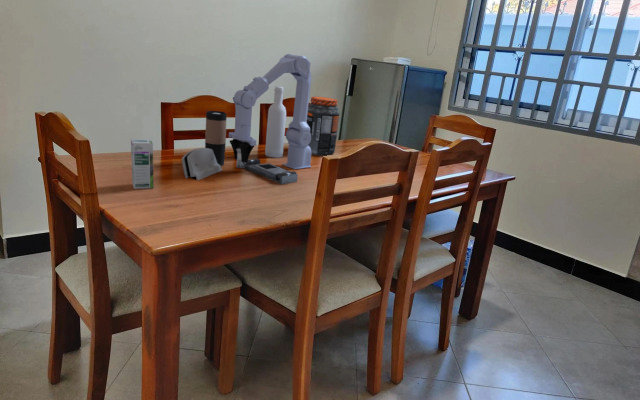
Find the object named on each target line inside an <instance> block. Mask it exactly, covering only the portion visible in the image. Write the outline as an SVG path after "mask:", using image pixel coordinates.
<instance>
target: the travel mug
mask: <svg viewBox="0 0 640 400" xmlns="http://www.w3.org/2000/svg"><path fill="white" fill-rule="evenodd" d="M227 115H228V114H227V113H226V112H224V111H219V110H207V111H206V112H205V117H206V118H205V134H204V135H205V136H204V137H205V138H204V139H205V140H204V148H208V149H212V150H213V152H214V155H215V158H216V161H217V163H218V164H219V165H220V166H221V167H222V166H224V164H225V157H226V156H225V155H226V154H225V153H226V145H227V144H226V140H227V139H226V138H227Z"/></svg>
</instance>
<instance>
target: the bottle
mask: <svg viewBox="0 0 640 400" xmlns="http://www.w3.org/2000/svg"><path fill="white" fill-rule="evenodd" d="M273 91H274V94H273V95H274V97H273V98H274V99H273V103H272V104H271V105H270V106H269V108H268V111H267V112H268V113H267V123H266V124H267V125H266V135H265V136H266V138H265V149H264V152H265V153H264V156H265V157H268V158H275V159H279V158H283V156H284V155H283V154H284V143H285V135H286V122H287V121H286V119H287V108H286V106H285V105H284V104H283V97H284V92H285V91H284V86H274V90H273Z"/></svg>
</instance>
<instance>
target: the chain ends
mask: <svg viewBox="0 0 640 400" xmlns="http://www.w3.org/2000/svg"><path fill="white" fill-rule="evenodd" d="M244 169H245V170H247V171H250V172H252V173H254V174H257V175H259V176H261V177H264V178H266V179H267V180H271V181H272V182H276V184H279V185H288V184H293V183H297V182H298V175H299V174H297V172H296V171H289V170H287V169H285V168H282V167H280V166H277V165H275V164H272V163H267V162H266V163H261V160H260V159H259V158H252V159H251V158H248V161H247V162H245V168H244Z"/></svg>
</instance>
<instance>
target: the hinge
mask: <svg viewBox="0 0 640 400" xmlns="http://www.w3.org/2000/svg"><path fill="white" fill-rule="evenodd" d="M181 163H182V169H183V173H184V177H185V178H186V179H188V178H194V177H195V178H196V181H199V180H202V179H205V178H208V177H209V176H212V175H214V174H216V173H217V174H218V173H219V172H222V171H223V168H222V166H220V165H219V164H218V163H217V161H216V158H215V155H214V152H213V150H212V149H208V148H205V147H200V148H194V149H192V150H190V151H188V152H187V153H185V154H184V155H183V156H182V158H181Z"/></svg>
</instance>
